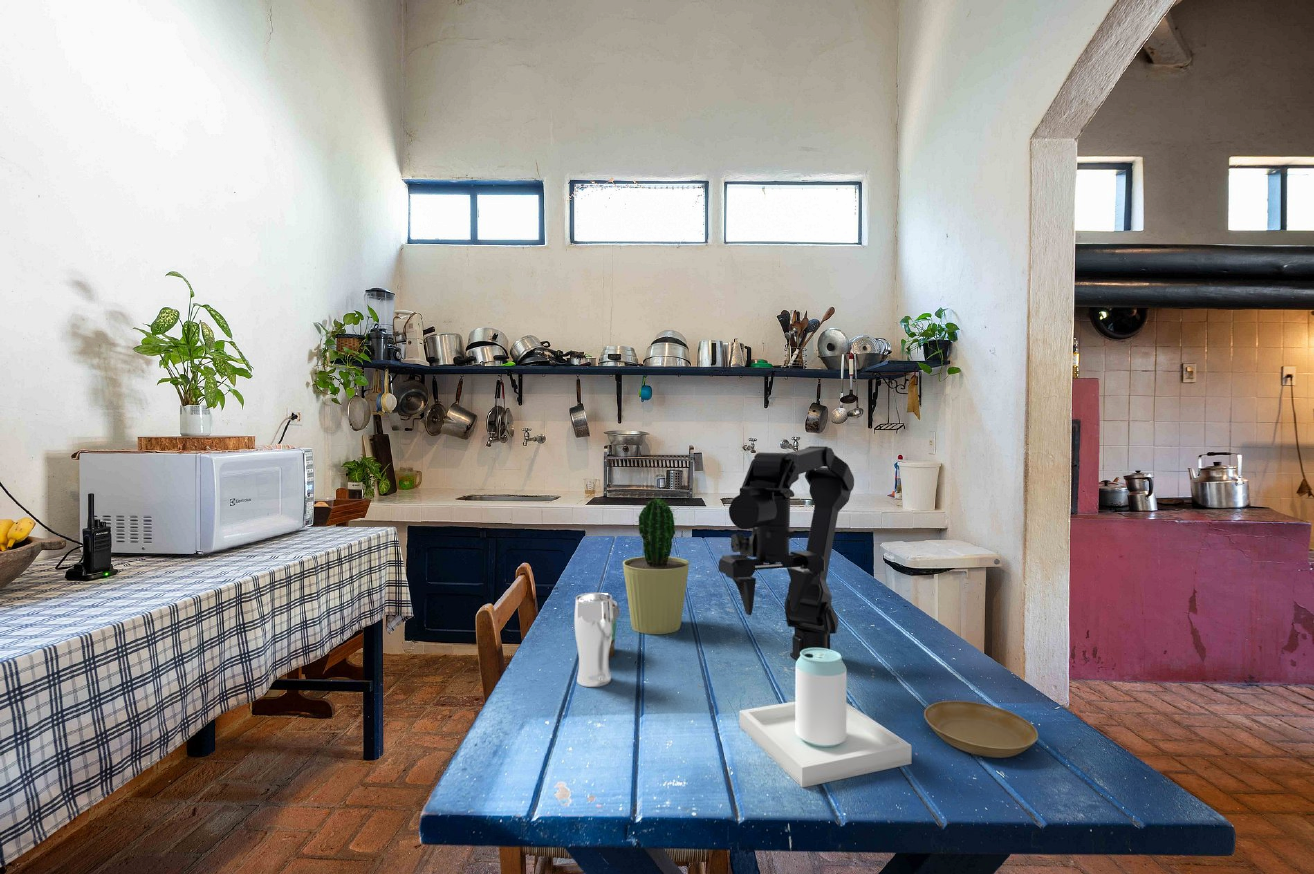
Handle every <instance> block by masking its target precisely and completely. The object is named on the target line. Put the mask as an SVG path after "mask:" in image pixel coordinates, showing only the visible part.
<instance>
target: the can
mask: <svg viewBox="0 0 1314 874" xmlns="http://www.w3.org/2000/svg"><path fill="white" fill-rule="evenodd" d="M842 658H843V657H842V654H841V653H840V652H838V651H836V650H833V649H831V648H830V649H825V648H807V649H804V650H802V651H801V652H800V657H799V659H798V660H795V661H796V662H795V682H794V683H795V688H794V689H795V695H794V698H795V701H794V702H795V732H796V734H797V735H798V736H799V737H800V738H801V739H802V740H803V741H805V742H806V743H808V744H810V745H813V746H817V747H825V748H827V747H834V746H837V745H838V744H840V743H842V742H843V741H845V739H846V703H847V666H846V665H845V663H844V661H843V659H842Z"/></svg>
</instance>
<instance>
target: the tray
mask: <svg viewBox="0 0 1314 874" xmlns="http://www.w3.org/2000/svg"><path fill="white" fill-rule="evenodd" d="M738 713H739V719H738V720H739V722H738V723H739V724H738V725H739V726H740V727H741V728H742V729H743V730H744V731H746V733H747V734H748V735H749V736H750V737H751V738H752V739H751V738H750V737H749V736H748V735H747V734H746V733H745V734H746V735H747V736H748V737H749V738H750V739H751V740H752V741H753V742H754V743H755V744H756V745H757V746H759V748H760V749H761V750H762V751H763V752H765V753H766V754H767V756H769V757H770V758H771V759H772V760H773V761H774V762H775V763H776V764H777V765H778V766H779V767H780V768H781V769H783V771H784V772H785V773H786V774H788V776H790V777H791V778H792V780H794V781H795V782H796V783H797V784H798V786H800V787H801V788H807V787H811V786H817V785H820V784H826V783H830V782H834V781H838V780H842V779H843V780H844V779H848V778H853V777H857V776H862V775H867V774H871V773H875V772H880V771H885V770H889V769H895V768H897V767H904V766H908V765H912V744H910V743H908V742H907V741H906V740H904V739H903V738H901V737H899V736H898V735H896V734H895V733H894V732H892V731H890V730H889V729H887V728H886V727H884V726H883V725H881V724H880V723H878V722H877V721H876V720H874V719H873V718H871V717H869V716H868V715H866V714H865V713H863V712H862V711H860V710H858V709H857V708H855V707H854V706H852V705H851V704H849V703H848V702H846V739H845V741H843V742H842V743H840V744H838V745H837V746H834V747H827V748H825V747H817V746H813V745H810V744H808V743H806V742H805V741H803V740H802V739H801V738H800V737H799V736H798V735H797V734H796V732H795V701H789V702H784V703H778V704H771V705H765V706H759V707H754V708H747V709H741V710H739V712H738ZM740 727H739V728H740ZM741 728H740V729H741ZM742 729H741V730H742ZM743 730H742V731H743ZM744 731H743V732H744Z"/></svg>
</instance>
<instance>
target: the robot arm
mask: <svg viewBox="0 0 1314 874" xmlns="http://www.w3.org/2000/svg"><path fill="white" fill-rule="evenodd" d="M804 473H805V474H804ZM801 474H804V478H805V480H806V481H807V484H808V485H809V495H810V497H811V500H812V502H813V504H814V507H813V514H812V518H811V522H810V523H811V524H810V528H809V534H808V537H807V543H806V550H794V551H790V538H795V531H794V530H790V529H791V521H790V520H791V498H794V497H795V492H794V491H793V490H792V489H791V487H792V485H793V484H795V483H796V482H797V481H798V480H799V479H800V477H799V475H801ZM854 487H855V477H854V474H853V472H852V470H851V469H850V466H849V465H848V463H847V462H845V461H844V460H843V459H841V458H840V457H838V456H837V455H836V454H835V453H834V450H833V448H831V447H829V446H819V445H818V446H817V445H814V446H813V445H810V446H808V447H807V446H806V447H805V448H803V449H799V450H794V451H791V452H757V453H756V454H755V455H754V456H753V459H752V460H751V462H750V464H749V468H748V470H747V472H746V475H745V478H744V480H743V483H742V485H741V487H740V488H739V495H737V496H735V497H734V498H733V499H732V501H731V503H730V505H729V507H728V516H729V518H730V521H731V522H732V524H733V525H734V526H735V527H737V528H738V529H741V530H751V529H752V530H751V535H750V536H745V534H744V533H734V534H732V535H731V539H730V549H731V552H732V553H739V554H729V555H722V556H721V557H720V559H719V561H718V572H720V573H722V574H725V577H726V578H727V577H728V578H730V579H732V581H733V582H734V584H735V586H736V588H737V590H738V592H739V595H740V599H741V602H742V606H743V607H744V611H745V613H746V615H748V616H752V614H753V610H754V609H753V608H754V603H755V601H754V600H755V592H756V591H755V590H756V585H757V583H756V582H757V578H755V577H754V576H753V575H754V574H755V572H756V571H759V570H773V569H774V570H775V569H785V568H786V569H787V572H788V573H787V574H788V575H789V578H790V582H789V583H788V590H787V594H786V598H785V600H784V613H785V618H786V625H787V628H789V627H790V628H794V632H793V633H794V635H792V652H789V656H790V657H791V658H793V659H795V661H797V660H798V659H799V657H800V652H801V651H802V650H804V649H807V648H825V649H830V650H831V634H837V631H838V627H839V617H838V615H837V613H836V611H835V609H834V607H833V606H832V600H833V596H832V594H831V592H830V589H829V586H828V583H827V579H828V578H827V577H828V571H829V567H830V566H829V565H830V560H831V555H832V551H833V543H834V538H835V532H836V527H837V521H838V516H839V512H840V511H842V509H843V508H844V507H845V505H847V503H848V502H849V501H850V498H851V494H852V491H853V489H854ZM750 557H751V558H750Z"/></svg>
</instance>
